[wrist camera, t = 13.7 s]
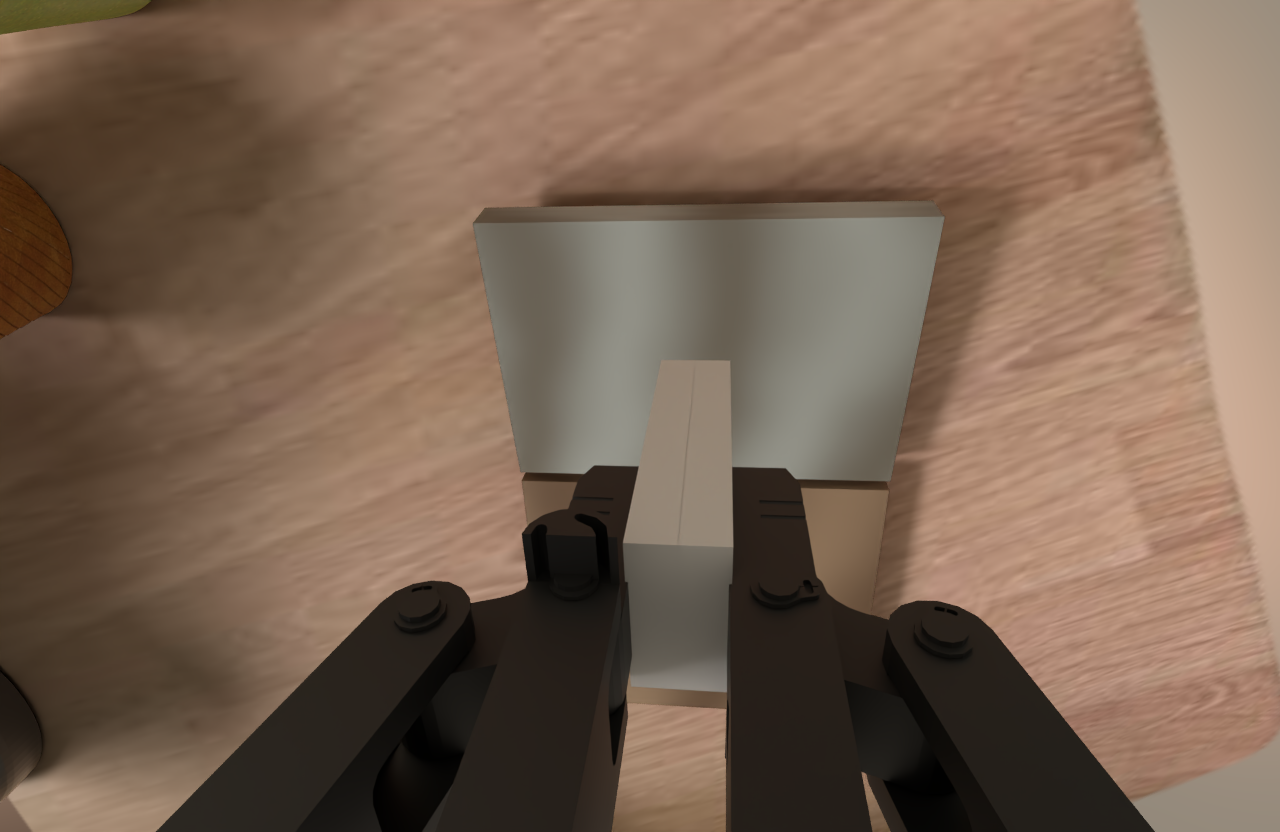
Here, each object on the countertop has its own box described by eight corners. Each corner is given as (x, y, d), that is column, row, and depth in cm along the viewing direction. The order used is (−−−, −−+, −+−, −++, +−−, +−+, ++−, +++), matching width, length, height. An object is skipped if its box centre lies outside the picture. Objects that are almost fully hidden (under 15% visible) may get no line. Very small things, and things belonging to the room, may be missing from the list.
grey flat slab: (528, 449, 29) (520, 472, 28) (485, 208, 23) (472, 223, 22) (883, 457, 27) (890, 481, 26) (933, 200, 21) (944, 216, 20)
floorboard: (556, 675, 34) (549, 698, 33) (530, 462, 29) (521, 480, 28) (850, 691, 33) (855, 716, 32) (881, 471, 27) (889, 490, 26)
